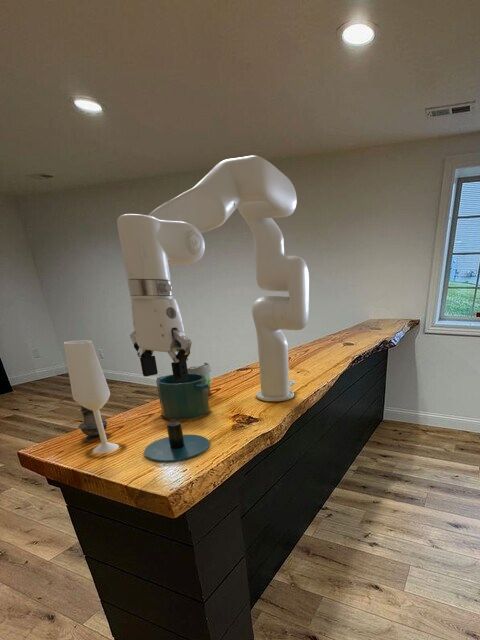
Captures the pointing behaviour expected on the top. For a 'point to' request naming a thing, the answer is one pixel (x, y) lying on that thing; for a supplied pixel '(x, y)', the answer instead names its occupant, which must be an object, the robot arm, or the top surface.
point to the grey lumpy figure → (90, 424)
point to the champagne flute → (88, 384)
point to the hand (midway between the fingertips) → (165, 378)
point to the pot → (183, 397)
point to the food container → (202, 373)
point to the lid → (176, 445)
